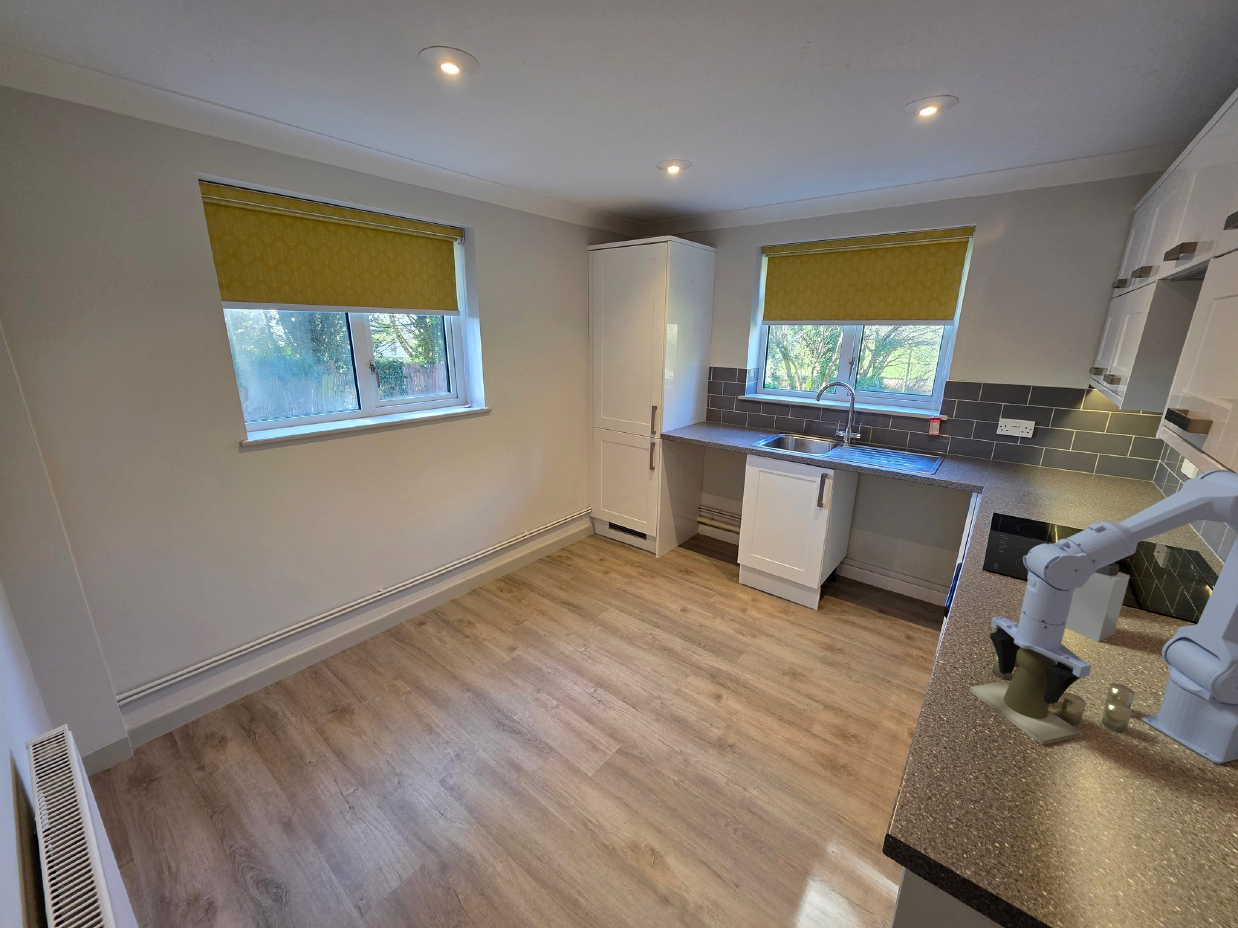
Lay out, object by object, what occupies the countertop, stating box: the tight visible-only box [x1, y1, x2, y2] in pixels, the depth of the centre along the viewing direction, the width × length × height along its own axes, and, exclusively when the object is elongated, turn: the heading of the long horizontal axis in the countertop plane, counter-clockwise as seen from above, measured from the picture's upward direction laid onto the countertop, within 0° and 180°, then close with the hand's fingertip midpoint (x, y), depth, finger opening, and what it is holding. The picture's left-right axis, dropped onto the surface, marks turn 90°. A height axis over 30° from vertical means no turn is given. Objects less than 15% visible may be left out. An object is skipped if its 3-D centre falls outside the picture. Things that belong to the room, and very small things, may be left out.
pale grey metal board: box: [968, 680, 1082, 746], centre depth 85 cm, size 13×8×1 cm, turn 13°
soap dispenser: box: [1065, 562, 1131, 643], centre depth 108 cm, size 6×9×22 cm
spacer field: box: [991, 647, 1135, 734], centre depth 90 cm, size 21×14×4 cm
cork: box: [1004, 647, 1056, 719], centre depth 84 cm, size 6×6×11 cm
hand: (1027, 686), depth 84 cm, fingers open, 7 cm apart
